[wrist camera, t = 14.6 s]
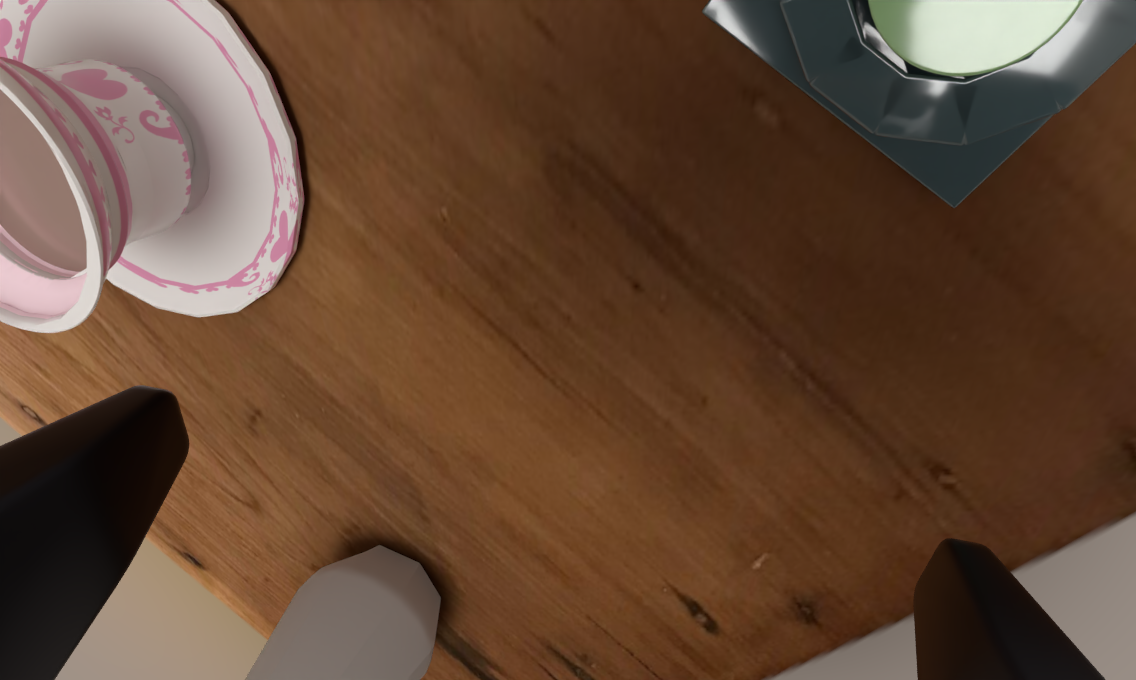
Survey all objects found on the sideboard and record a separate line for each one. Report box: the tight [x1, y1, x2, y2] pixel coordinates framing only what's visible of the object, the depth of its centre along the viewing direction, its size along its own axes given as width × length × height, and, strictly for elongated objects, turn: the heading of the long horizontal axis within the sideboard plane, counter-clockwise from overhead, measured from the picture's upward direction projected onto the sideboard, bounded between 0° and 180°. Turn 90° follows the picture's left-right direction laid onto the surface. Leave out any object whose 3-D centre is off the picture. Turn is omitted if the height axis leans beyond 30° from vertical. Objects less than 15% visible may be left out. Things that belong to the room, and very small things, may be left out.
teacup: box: [0, 0, 304, 333], centre depth 22 cm, size 12×12×6 cm
